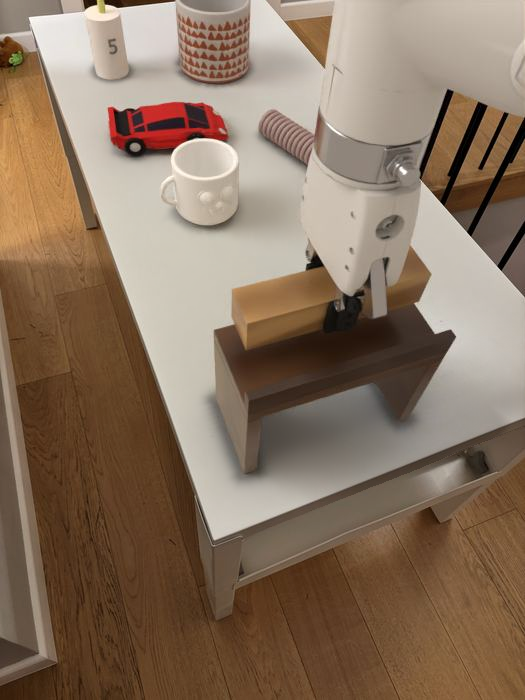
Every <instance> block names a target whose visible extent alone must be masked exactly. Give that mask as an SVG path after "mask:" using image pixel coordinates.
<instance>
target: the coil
mask: <svg viewBox="0 0 525 700" xmlns="http://www.w3.org/2000/svg"><path fill="white" fill-rule="evenodd" d="M257 129H258V132H259V134H260V135H262V136H264V138H267V139H268V140H270V141H271V142H272V143H274V144H275V145H277V146H279V147H280V148H281V149H283V150H284V151H286V152H287V153H288V154H290V155H292V156H293V157H296V159H297V160H300V162H302V163H304V164H305V165H306V166H308V163H309V159H310V155H311V152H312V148H313V141H314V135H315V133H312V132H311V131H310V130H308V128H304V127H303V126H302V125H300V124H299V123H298V122H296V121H294V120H292V119H291V118H290V117H288V116H286V115H285V114H283V113H282V112H280V111H279V110H277V109H274V108H273V109H268V110H267V111H266V112H264V114H263V115H262V116H261V118H260V119H259V122H258V127H257Z"/></svg>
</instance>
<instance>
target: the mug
mask: <svg viewBox="0 0 525 700" xmlns="http://www.w3.org/2000/svg"><path fill="white" fill-rule="evenodd" d="M170 168H171V175H169V176H168V177H166V178H165V179H164V180H163V182H162V183H161V184H160V186H159V197H160V198H161V200H162V202H164V203H165V204H167V205H170V206H175V208H176V211H177V212H178V214H179V215H180V216H181V217H182V218H183V219H185V221H188V222H189V223H192V224H194V225H200V226H215V225H219V224H222V223H224V222H226V221H228V220H229V219H230V218H232V217H233V216H234V214H235V213H236V211H237V210H238V206H239V189H240V188H239V187H240V185H239V184H240V183H239V182H240V158H239V154H238V152H237V151H236V149H234V147H233V146H231V145H230V144H229V143H227V142H225V141H219V140H215V139H206V138H202V139H194V140H190V141H187V142H185V143H183V144H181V145H179V146H178V147H176V148H174V149H173V151H172V153H171V156H170ZM171 183H172V188H173V197H174V198H173V199H172V198H169V197H168V196H167V194H166V190H167V188H168V186H169V185H170V184H171Z"/></svg>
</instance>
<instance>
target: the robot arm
mask: <svg viewBox="0 0 525 700" xmlns="http://www.w3.org/2000/svg"><path fill="white" fill-rule="evenodd" d="M448 90H449V91H452V92H454V93H456V94H460V95H462V96H464V97H467V98H470V99H472V100H474V101H476V102H478V103H481V104H483V105H486V106H488V107H490V108H493V109H495V110H498V111H501V112H504V113H506V114H510V115H513V116H516V117H521V118H525V0H334V4H333V11H332V17H331V23H330V31H329V36H328V43H327V50H326V56H325V65H324V72H323V76H322V83H321V90H320V97H319V102H318V110H317V115H316V122H315V130H314V141H313V148H312V152H311V155H310V159H309V163H308V165H307V167H306V168H307V169H306V173H305V176H304V177H305V178H304V182H303V186H302V193H301V200H300V210H299V220H300V224H301V227H302V229H303V231H304V233H305V235H306V237H307V239H308V243H307V245H306V248H305V251H304V253H305V258H306V260H307V262H308V263H306V265H305V270H304V271H307V270H311V269H315V268H319V267H323V266H325V267H326V269H327V271H328V272H329V274H330V276H331V277H332V279H333V280H334V282H335V284H336V286H335V296H334V301H331V302H330V303H329V304H328V308H327V313H326V317H325V321H324V325H323V330H324V332H325V333H326V334H328V333H332V332H335V331H339V332H342V331H346V330H349V329H350V328H352V327H353V326H354V325H355V324H356V322H357V319H358V316H359V313H360V312H361V313H362V315H364V316H366V317H367V318H369V319H371V320H373V319H376V318H380V317H383V316H386V315H387V302H386V287H390V286H393V285H395V284H396V283H397V281H398V279H399V277H400V274H401V271H402V269H403V266H404V263H405V260H406V257H407V253H408V250H409V247H410V245H411V243H412V239H413V235H414V232H415V227H416V222H417V218H418V213H419V207H420V202H421V201H420V200H421V190H422V180H421V179H420V177H421V171H420V168H421V165H422V162H423V160H424V157H425V154H426V151H427V148H428V144H429V142H430V139H431V137H432V134H433V131H434V128H435V125H436V122H437V119H438V117H439V113H440V111H441V108H442V105H443V102H444V99H445V96H446V94H447V91H448ZM356 289H358V290H357V292H355V291H356Z"/></svg>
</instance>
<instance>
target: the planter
mask: <svg viewBox="0 0 525 700" xmlns="http://www.w3.org/2000/svg"><path fill="white" fill-rule="evenodd" d="M174 1H175V4H174V5H175V16H176V28H177V29H176V30H177V43H178V44H177V45H178V56H179V66H180V69H181V71H182V72H183V73H184V74H185V75H186V76H187V77H189V78H191V79H193V80H195V81H198V82H201V83H206V84H226V83H231V82H234V81H237V80H239V79H241V78H242V77H243V76H244V75H245V74H246V73H247V72H248V69H249V66H250V65H249V63H250V36H251V35H250V34H251V33H250V32H251V1H252V0H174Z"/></svg>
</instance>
